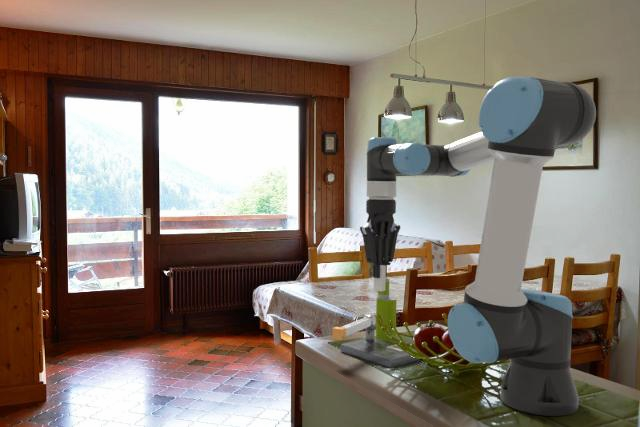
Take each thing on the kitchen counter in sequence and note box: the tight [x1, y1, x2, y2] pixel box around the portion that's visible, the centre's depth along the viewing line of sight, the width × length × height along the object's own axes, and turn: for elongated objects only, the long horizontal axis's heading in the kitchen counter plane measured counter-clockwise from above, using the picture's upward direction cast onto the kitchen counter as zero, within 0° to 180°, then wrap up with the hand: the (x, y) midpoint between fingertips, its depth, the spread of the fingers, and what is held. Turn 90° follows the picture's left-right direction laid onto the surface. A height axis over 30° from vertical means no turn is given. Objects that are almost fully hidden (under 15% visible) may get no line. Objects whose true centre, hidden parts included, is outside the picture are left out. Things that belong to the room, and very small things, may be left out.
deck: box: [340, 329, 419, 369], centre depth 154 cm, size 18×12×5 cm, turn 40°
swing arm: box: [332, 313, 376, 341], centre depth 154 cm, size 20×3×4 cm, turn 148°
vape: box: [375, 276, 397, 344], centre depth 167 cm, size 4×6×20 cm, turn 48°
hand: (379, 290), depth 151 cm, fingers closed
